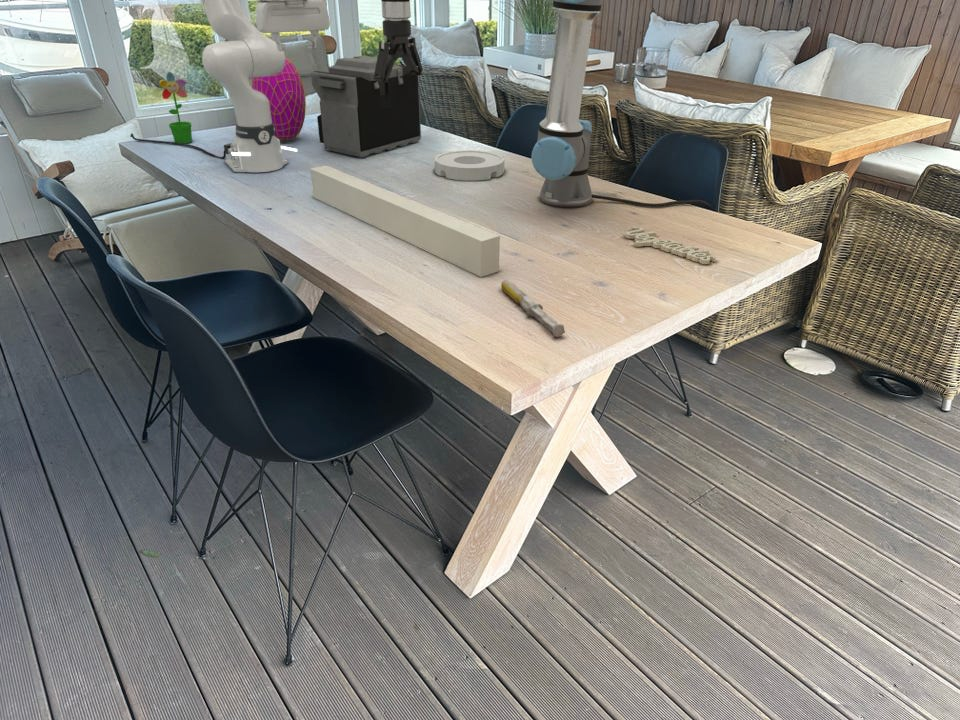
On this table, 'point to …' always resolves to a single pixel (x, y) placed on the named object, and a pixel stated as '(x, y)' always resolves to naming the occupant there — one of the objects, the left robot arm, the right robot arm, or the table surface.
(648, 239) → the decorative sign
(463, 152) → the ashtray
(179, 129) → the potted flower
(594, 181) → the table surface
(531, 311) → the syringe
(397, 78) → the cooler box
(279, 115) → the decorative egg
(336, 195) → the post
